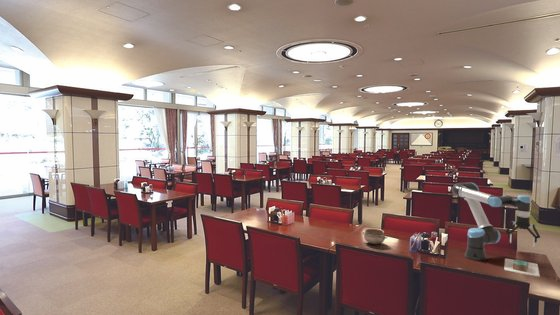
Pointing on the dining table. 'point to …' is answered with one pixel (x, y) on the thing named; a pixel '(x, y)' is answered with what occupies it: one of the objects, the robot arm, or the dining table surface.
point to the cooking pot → (374, 236)
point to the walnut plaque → (520, 265)
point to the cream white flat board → (531, 270)
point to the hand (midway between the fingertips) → (521, 244)
